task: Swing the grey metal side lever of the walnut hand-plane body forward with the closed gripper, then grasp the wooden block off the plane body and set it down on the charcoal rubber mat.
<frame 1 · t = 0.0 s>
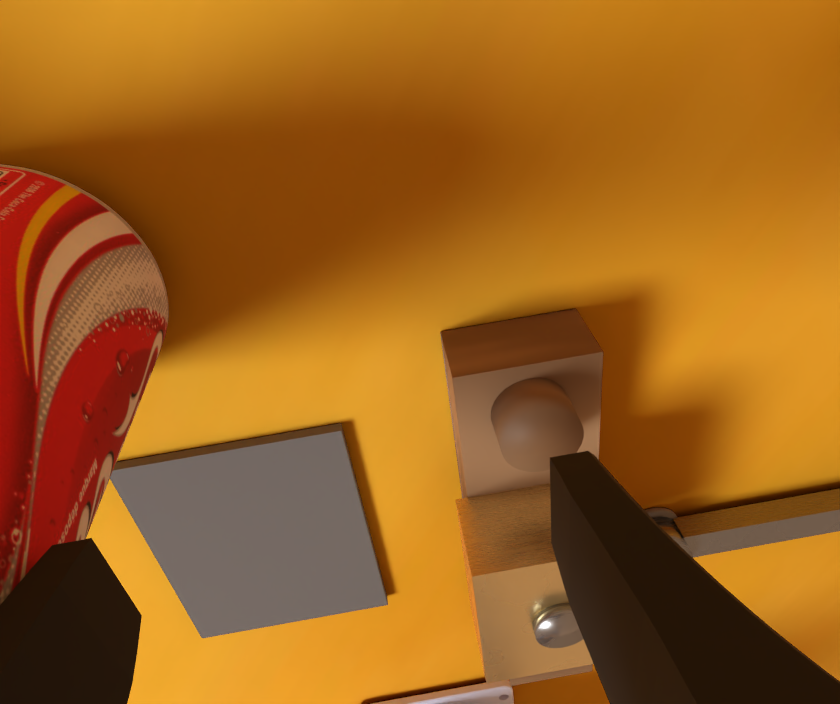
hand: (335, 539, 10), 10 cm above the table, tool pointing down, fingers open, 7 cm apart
wooden block: (535, 544, 23), point 2 cm above the table, touching plane body
plane body: (517, 474, 24), on the table
soda can: (46, 274, 18), on the table
lever: (774, 534, 26), point 1 cm above the table, hinge at 0.0°
mat: (264, 537, 25), on the table
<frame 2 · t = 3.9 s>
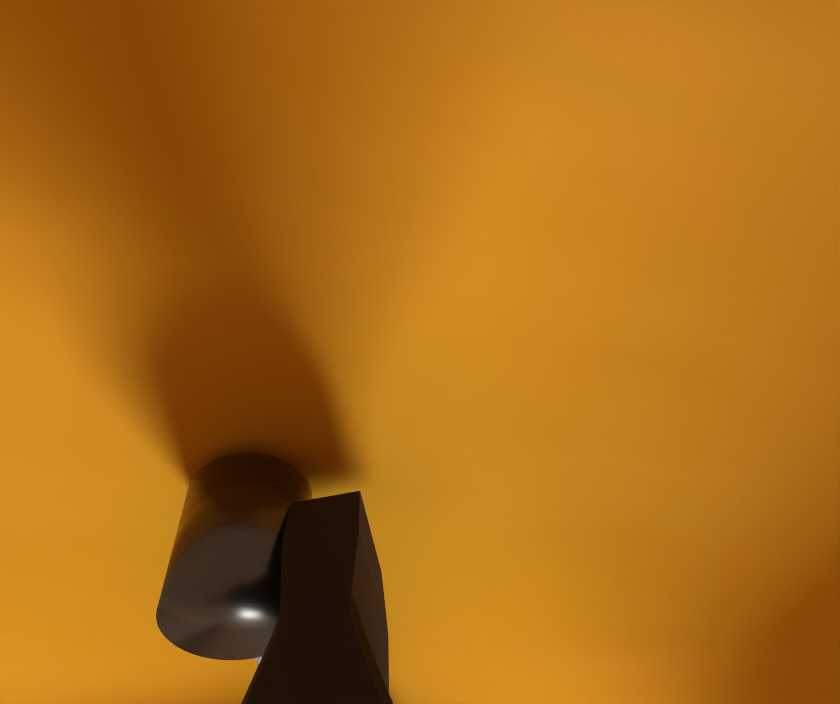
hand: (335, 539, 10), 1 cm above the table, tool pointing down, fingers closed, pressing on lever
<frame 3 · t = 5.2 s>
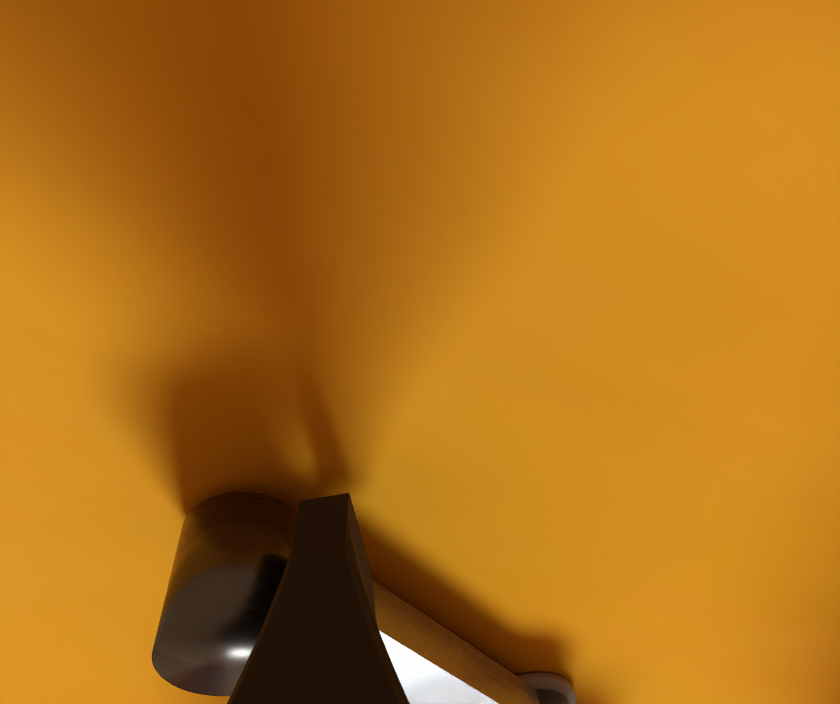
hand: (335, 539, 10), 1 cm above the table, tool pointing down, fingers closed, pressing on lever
lever: (417, 692, 12), point 1 cm above the table, hinge at 38.2°, touching gripper
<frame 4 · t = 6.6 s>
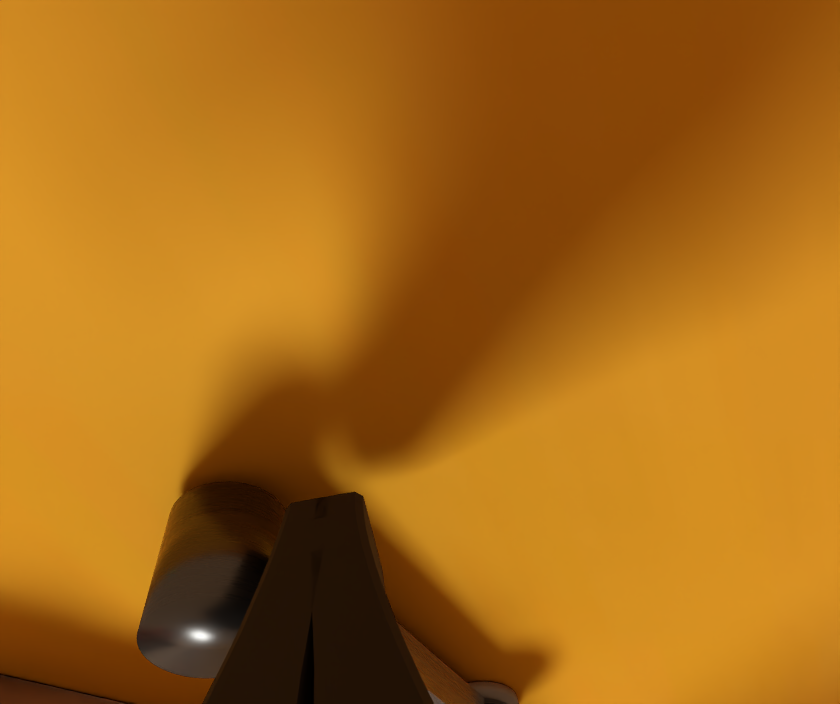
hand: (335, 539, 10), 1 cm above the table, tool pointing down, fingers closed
lever: (376, 690, 13), point 1 cm above the table, hinge at 68.3°, touching gripper
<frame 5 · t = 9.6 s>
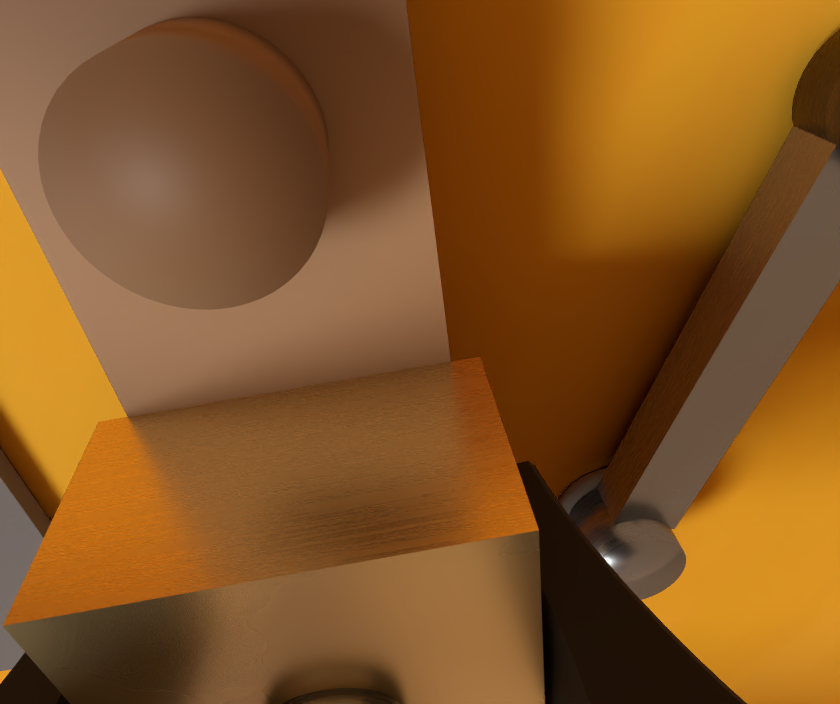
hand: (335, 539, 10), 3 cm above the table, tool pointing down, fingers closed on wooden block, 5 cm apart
wooden block: (335, 534, 10), point 2 cm above the table, touching gripper, plane body
plane body: (324, 392, 12), on the table
lever: (741, 380, 11), point 1 cm above the table, hinge at 68.4°
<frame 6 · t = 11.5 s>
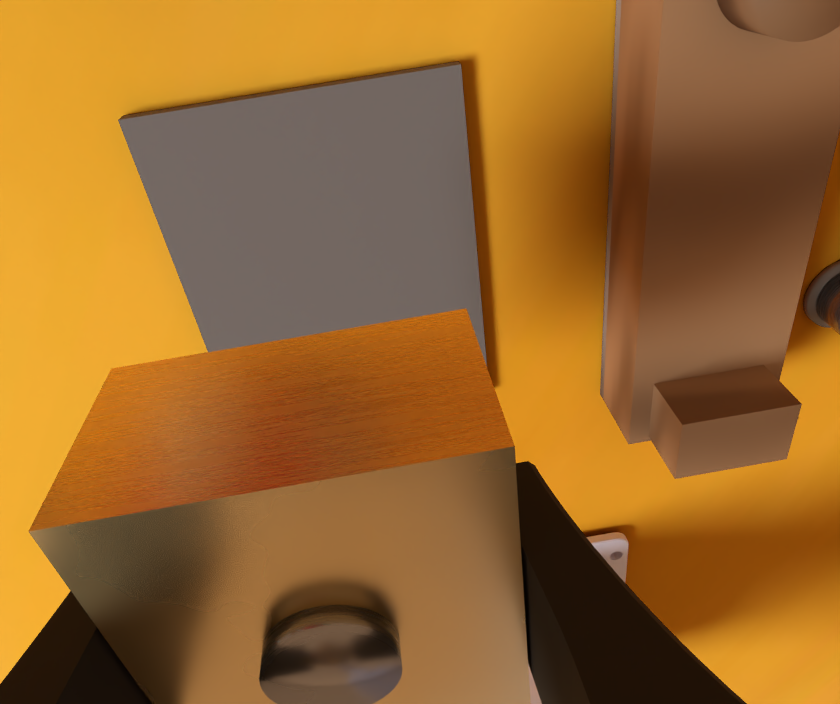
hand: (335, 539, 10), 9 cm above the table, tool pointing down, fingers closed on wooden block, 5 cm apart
wooden block: (332, 483, 11), point 8 cm above the table, touching gripper
plane body: (686, 182, 17), on the table
mat: (334, 275, 18), on the table
when the fingers open (2 cm above the table, at t = 13.4 s): wooden block stays where it is, resting on mat.
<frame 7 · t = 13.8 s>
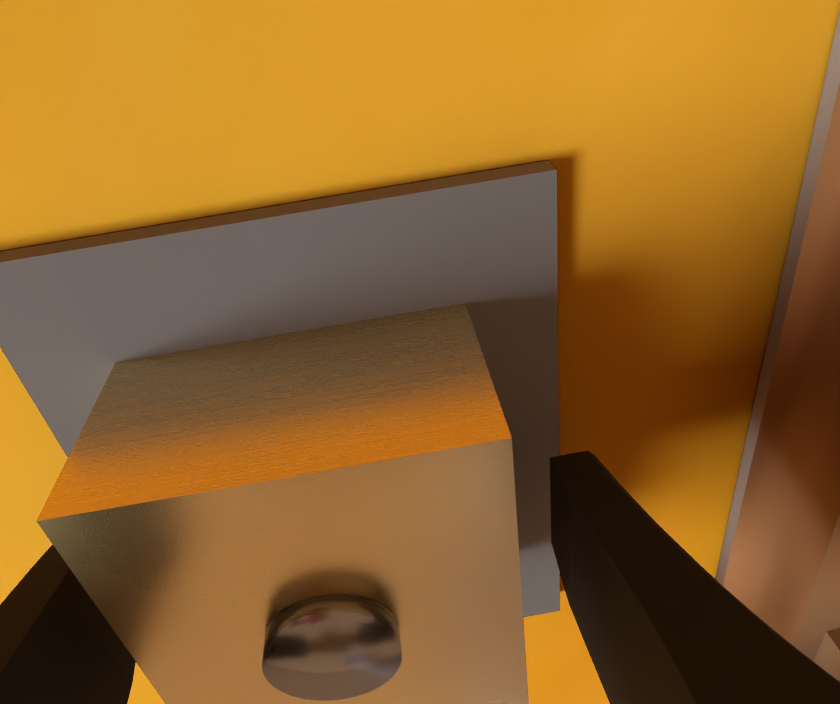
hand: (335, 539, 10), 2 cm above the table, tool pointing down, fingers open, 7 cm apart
wooden block: (333, 476, 11), resting on mat
mat: (335, 468, 12), on the table
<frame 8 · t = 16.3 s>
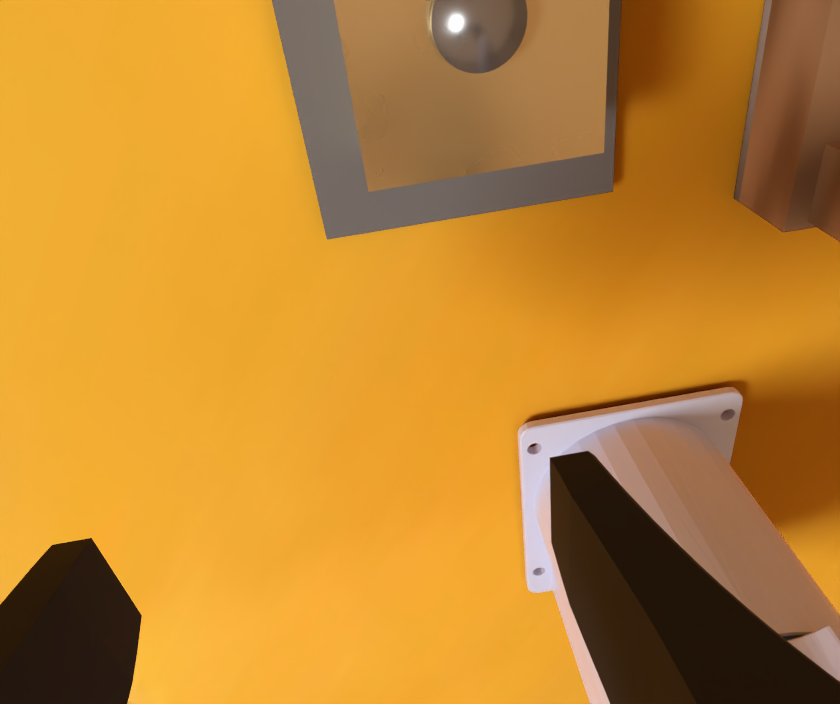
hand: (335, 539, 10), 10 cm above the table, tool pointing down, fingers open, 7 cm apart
wooden block: (451, 2, 15), resting on mat
mat: (449, 10, 15), on the table
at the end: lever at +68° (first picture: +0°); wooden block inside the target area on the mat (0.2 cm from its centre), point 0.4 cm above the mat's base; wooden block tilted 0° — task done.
